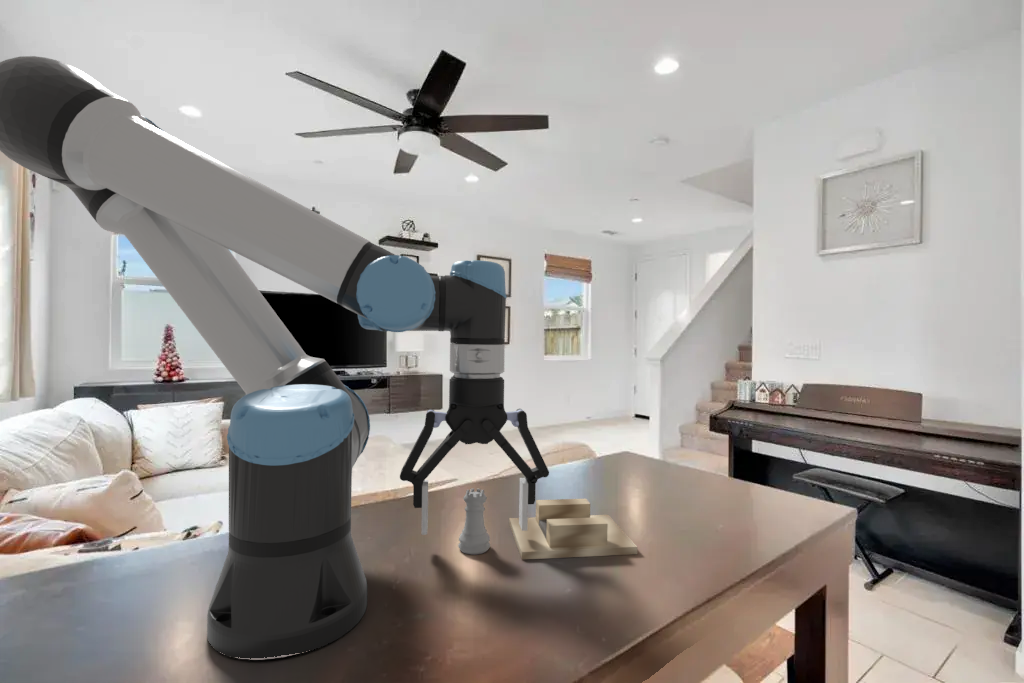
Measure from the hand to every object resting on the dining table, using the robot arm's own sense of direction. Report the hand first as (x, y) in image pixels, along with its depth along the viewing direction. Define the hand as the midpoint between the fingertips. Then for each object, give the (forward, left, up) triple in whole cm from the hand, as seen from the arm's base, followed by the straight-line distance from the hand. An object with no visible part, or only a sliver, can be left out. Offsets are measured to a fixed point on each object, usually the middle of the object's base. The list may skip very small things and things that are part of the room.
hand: (474, 528), depth 69 cm
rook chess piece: (0, 0, -3) cm, 3 cm away
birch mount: (+14, +2, -3) cm, 14 cm away
